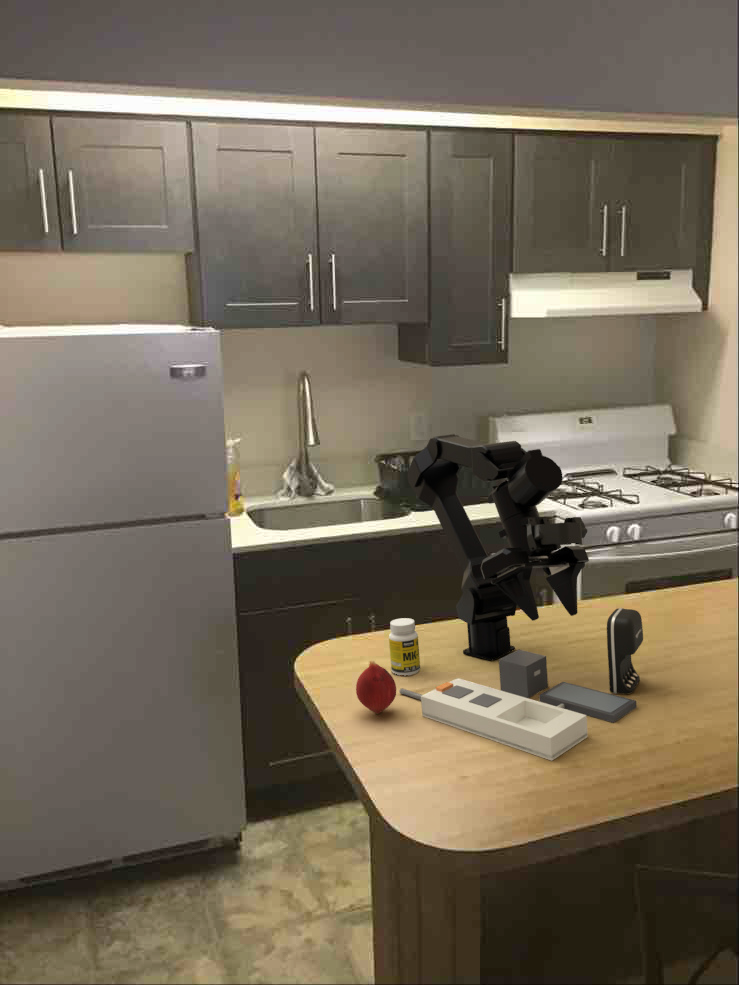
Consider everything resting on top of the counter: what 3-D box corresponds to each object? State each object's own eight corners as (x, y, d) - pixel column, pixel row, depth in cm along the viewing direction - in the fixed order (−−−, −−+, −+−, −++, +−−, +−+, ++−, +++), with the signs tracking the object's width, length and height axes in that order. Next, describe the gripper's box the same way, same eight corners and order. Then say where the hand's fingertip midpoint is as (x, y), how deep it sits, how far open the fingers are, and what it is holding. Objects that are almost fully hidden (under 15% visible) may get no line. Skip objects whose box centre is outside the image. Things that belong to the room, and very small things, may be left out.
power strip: (381, 701, 126) (379, 680, 125) (418, 684, 131) (416, 663, 131) (551, 760, 104) (550, 734, 103) (587, 736, 109) (586, 712, 108)
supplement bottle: (405, 678, 134) (401, 628, 133) (385, 672, 138) (381, 623, 136) (426, 669, 137) (422, 620, 136) (406, 663, 141) (402, 615, 139)
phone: (512, 716, 117) (511, 709, 117) (563, 687, 125) (562, 680, 125) (587, 740, 108) (587, 732, 108) (636, 707, 116) (636, 700, 116)
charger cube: (500, 691, 126) (498, 659, 125) (520, 680, 129) (519, 649, 129) (528, 699, 122) (526, 666, 122) (548, 687, 126) (546, 656, 125)
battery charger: (635, 698, 119) (632, 621, 117) (608, 694, 121) (605, 618, 119) (646, 679, 125) (643, 606, 123) (620, 676, 127) (617, 604, 125)
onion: (403, 705, 124) (398, 654, 123) (391, 722, 118) (386, 669, 117) (366, 703, 126) (361, 652, 124) (352, 720, 120) (347, 667, 119)
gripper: (519, 494, 115) (558, 602, 110) (597, 497, 127) (636, 594, 122) (464, 526, 122) (498, 629, 117) (543, 526, 135) (576, 619, 129)
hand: (555, 617), depth 121 cm, fingers open, 9 cm apart
